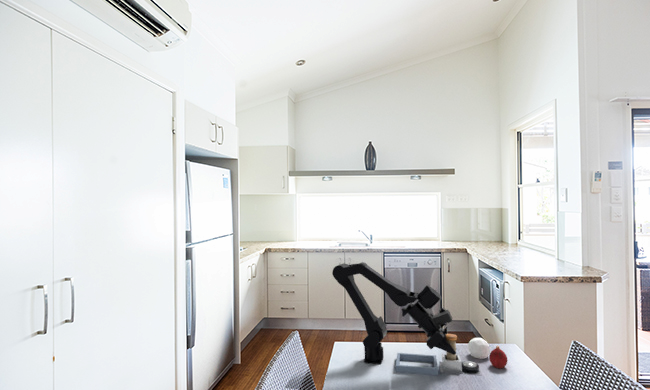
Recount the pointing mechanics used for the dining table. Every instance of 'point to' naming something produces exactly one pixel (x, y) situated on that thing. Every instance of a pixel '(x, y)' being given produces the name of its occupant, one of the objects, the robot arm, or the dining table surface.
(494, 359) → the onion
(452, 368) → the grey piece
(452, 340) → the orange-brown round-topped piece
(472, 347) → the ball
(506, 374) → the dining table surface
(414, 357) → the tray
